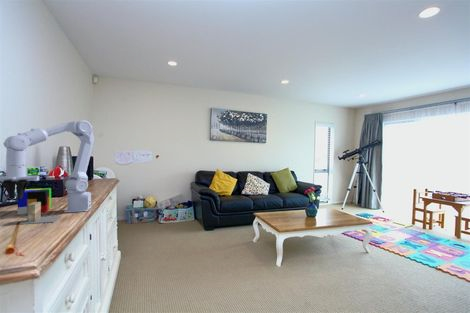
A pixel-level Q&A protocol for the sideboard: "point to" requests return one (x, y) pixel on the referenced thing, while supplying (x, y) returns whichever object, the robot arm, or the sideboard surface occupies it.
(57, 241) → the sideboard surface
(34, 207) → the tile
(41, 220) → the mat
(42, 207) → the puzzle toy
